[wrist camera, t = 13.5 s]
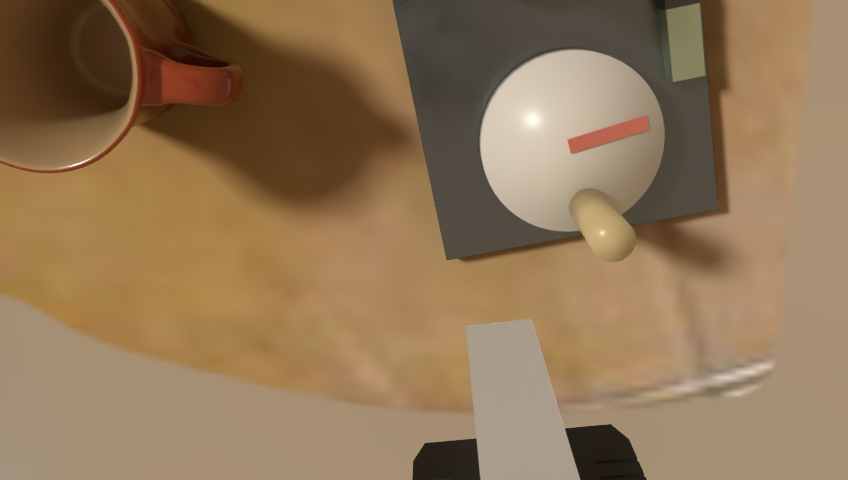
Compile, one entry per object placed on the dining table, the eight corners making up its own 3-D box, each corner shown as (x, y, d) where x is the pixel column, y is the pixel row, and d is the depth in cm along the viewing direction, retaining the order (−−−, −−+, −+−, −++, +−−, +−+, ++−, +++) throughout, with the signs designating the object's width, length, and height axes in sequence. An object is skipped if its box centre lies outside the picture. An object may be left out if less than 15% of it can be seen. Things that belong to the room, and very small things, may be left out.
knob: (506, 242, 40) (520, 293, 33) (457, 80, 37) (462, 100, 30) (671, 194, 39) (721, 235, 32) (634, 23, 36) (680, 30, 29)
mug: (49, 116, 39) (-77, 156, 30) (47, -55, 37) (-93, -73, 27) (269, 150, 40) (216, 200, 30) (283, -17, 37) (230, -21, 27)
